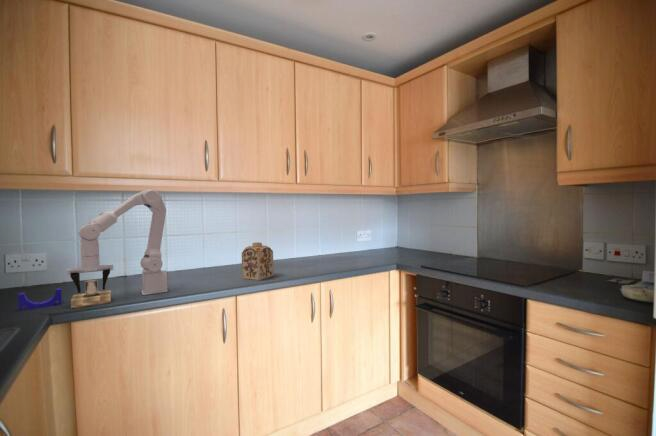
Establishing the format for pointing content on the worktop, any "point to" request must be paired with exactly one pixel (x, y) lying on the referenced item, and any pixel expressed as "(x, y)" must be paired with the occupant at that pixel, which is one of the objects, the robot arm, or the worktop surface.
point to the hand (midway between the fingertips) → (91, 290)
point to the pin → (91, 288)
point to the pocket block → (91, 299)
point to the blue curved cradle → (32, 305)
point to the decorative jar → (257, 262)
